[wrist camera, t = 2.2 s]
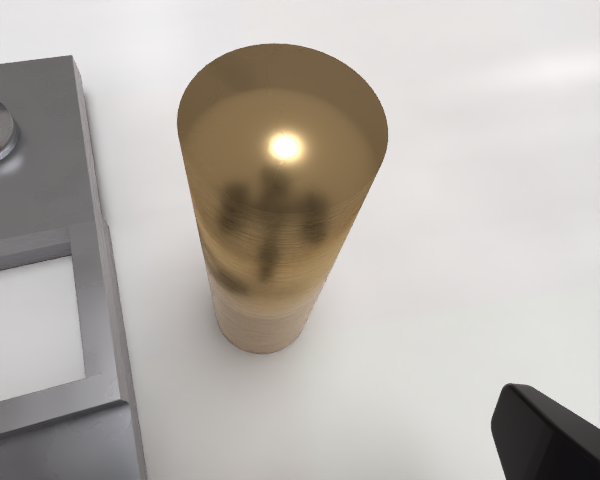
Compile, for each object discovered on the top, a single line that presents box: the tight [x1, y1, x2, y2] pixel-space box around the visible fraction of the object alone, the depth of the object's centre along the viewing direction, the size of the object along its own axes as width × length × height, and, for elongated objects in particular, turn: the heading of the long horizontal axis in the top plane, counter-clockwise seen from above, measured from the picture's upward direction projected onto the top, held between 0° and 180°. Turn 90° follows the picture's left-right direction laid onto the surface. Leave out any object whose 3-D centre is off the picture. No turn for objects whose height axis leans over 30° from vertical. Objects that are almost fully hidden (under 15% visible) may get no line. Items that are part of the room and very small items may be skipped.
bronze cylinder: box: [177, 44, 388, 354], centre depth 14 cm, size 4×4×12 cm
